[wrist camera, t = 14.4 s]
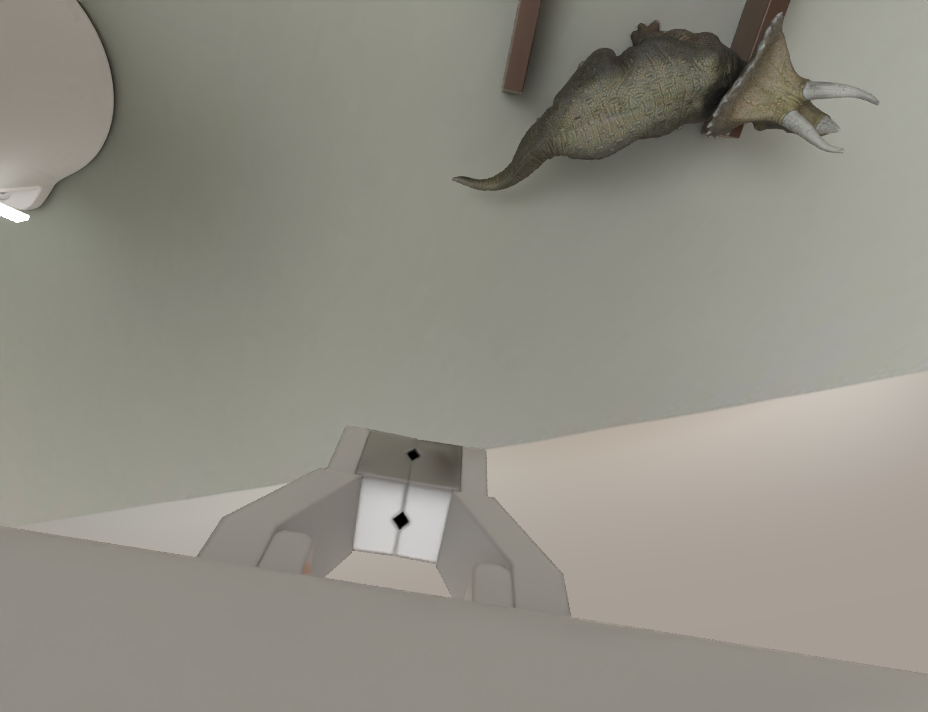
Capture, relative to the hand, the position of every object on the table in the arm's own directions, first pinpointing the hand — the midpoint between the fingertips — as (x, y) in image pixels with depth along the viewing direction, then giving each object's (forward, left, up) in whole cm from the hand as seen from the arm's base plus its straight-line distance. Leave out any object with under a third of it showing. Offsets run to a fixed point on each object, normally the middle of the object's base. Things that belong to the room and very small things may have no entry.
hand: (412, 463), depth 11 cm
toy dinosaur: (+8, +10, -31) cm, 34 cm away
